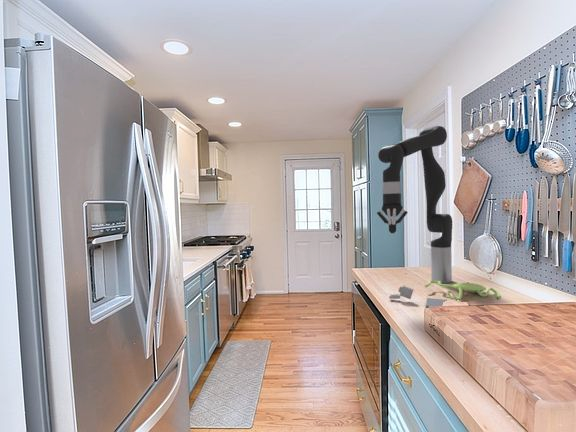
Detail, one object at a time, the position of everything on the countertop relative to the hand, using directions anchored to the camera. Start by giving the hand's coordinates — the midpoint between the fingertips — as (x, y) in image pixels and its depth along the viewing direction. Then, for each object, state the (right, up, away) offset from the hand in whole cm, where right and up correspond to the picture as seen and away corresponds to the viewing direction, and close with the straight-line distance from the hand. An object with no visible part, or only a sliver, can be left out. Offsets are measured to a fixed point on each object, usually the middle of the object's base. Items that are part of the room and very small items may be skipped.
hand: (392, 233), depth 143 cm
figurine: (+29, -27, -1) cm, 39 cm away
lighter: (+5, -26, -9) cm, 28 cm away
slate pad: (+17, -27, -14) cm, 35 cm away
